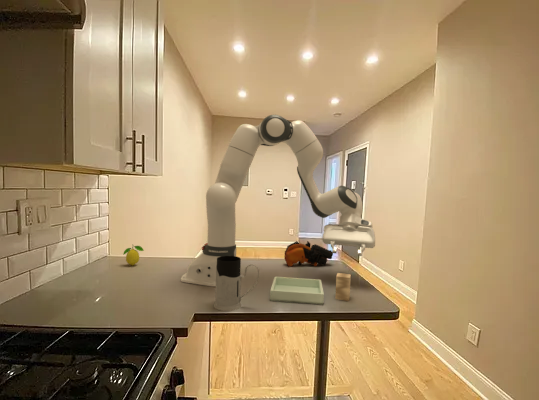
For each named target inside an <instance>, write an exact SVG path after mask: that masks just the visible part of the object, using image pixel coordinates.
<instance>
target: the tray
mask: <svg viewBox="0 0 539 400" xmlns="http://www.w3.org/2000/svg"><path fill="white" fill-rule="evenodd" d="M269 292H270V295H269V301H270V302H278V303H279V302H281V303H283V302H284V303H295V304H297V303H298V304H308V305H311V304H312V305H322V306H323V305H324V302H325V301H324V297H325V294H324V289H323V284H322V279H319V278H316V279H314V278H303V277H302V278H301V277H298V278H297V277H289V276H287V277H284V276H274V278H273V280H272V285H271V288H270V291H269Z"/></svg>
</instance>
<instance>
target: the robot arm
mask: <svg viewBox="0 0 539 400" xmlns="http://www.w3.org/2000/svg"><path fill="white" fill-rule="evenodd" d="M280 143H284V144H286V145H287V146H288V147H289V148H290V150H291V151H292V153H293V154H294V156H295V158H296V162H297V166H296V171H297V175H298V177H299V180H300V182H301V184H302V186H303V189H304V190H305V192H306V195H307V197H308V201H309V202H310V206H311V209H312V212H313V213H314V214H315V215H316V216H317V217H320V218H323V219H326V218H328V217H330V216H331V215H333V214H336V213H338V212H339V213H340V216H339V221H338V223H337V224H336V223H333V224H332V223H328V224H326V225H324V226H323V234H322V242H323V243H324V245H330V248H331V249H332V250H331V251H332V252H333V254H337V252H338V249H337V247H335V245H336V246H345V247H357V248H360V249H357V257H361V256H363V252H365V251H366V249H374V248H375V246H376V234H375V230H374V228H373V223H372V221H370V220H366V219H363V218H362V214H363V202H362V201H363V200H362V198H361V196H360V194H359V193H357V192H355V191H353V190H352V189H351V188H349V187H348V186H345V185H338V186H336V187H334V188H332V189H330V190H328V191H326V192H324V193H321V192H320V191H319V188H318V186H317V184H316V181H315V179H314V171H315V169H316V168H317V167H318V165H319V164H320V163H321V161H322V158H323V156H324V148H323V145H322V144H321V142H320V140H319V139H318V138H317V136H316V135H315V133H314V131H312V129H311V128H310V127H309V125H308V124H306V122H304V121H303V120H300V119H299V120H297V119H296V120H293V121H291V120H289V119H286V118H285V117H283V116H281V115H279V114H270V115H267V116H265V118H264V119H263V120H262V121H261V122H260V123H259V124H258V125H252V124H250V123H249V124H248V123H243V124H241V125H239V126H238V127H237V129H236V130H235V132H234V133H233V135H232V136H231V139H230V141H229V143H228V145H227V148H226V151H225V152H224V156H223V157H222V161H221V162H220V166H219V169H218V172H217V176H216V179H215V182H214V183H213V184H212V185H210V187H208V189H207V191H206V193H205V199H206V201H205V204H206V206H205V207H206V219H207V242H206V243H205V244H204V245H202V247H201V251H202V253H201V254H200V255H199V256H197V257H196V258H195V259H193V260H192V261H191V262H190V263H189V264H188V267H187V270H186V271H187V272H185V273H184V274H183V275H181V276H180V281H181V283H187V284H193V285H201V286H208V287H216V265H217V258H218V257H221V256H236V257H237V244H236V232H237V231H236V230H237V229H236V228H237V227H236V226H237V225H236V224H237V223H236V203H237V201H238V198H239V196H240V194H241V191H242V188H243V185H244V183H245V180H246V177H247V175H248V172H249V170H250V167H251V165H252V163H253V160H254V159H255V155H256V153H257V151H258V148H260V146H265V147H274V146H277V145H279V144H280Z"/></svg>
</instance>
